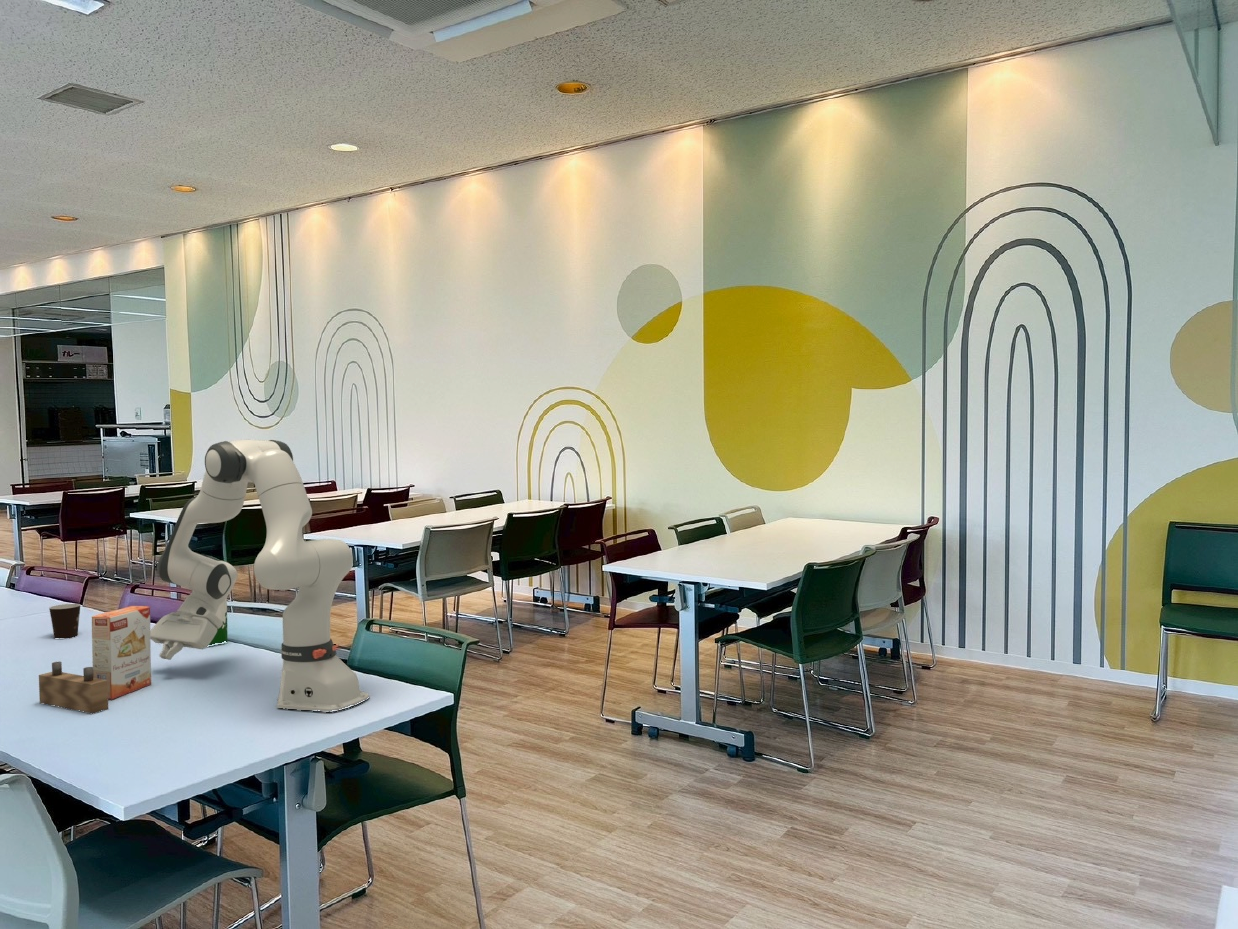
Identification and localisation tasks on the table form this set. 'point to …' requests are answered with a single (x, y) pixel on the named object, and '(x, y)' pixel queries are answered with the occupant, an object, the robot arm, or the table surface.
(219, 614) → the milk carton
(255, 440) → the robot arm
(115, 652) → the cracker box
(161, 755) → the table surface
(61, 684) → the walnut bar
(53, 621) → the coffee mug
